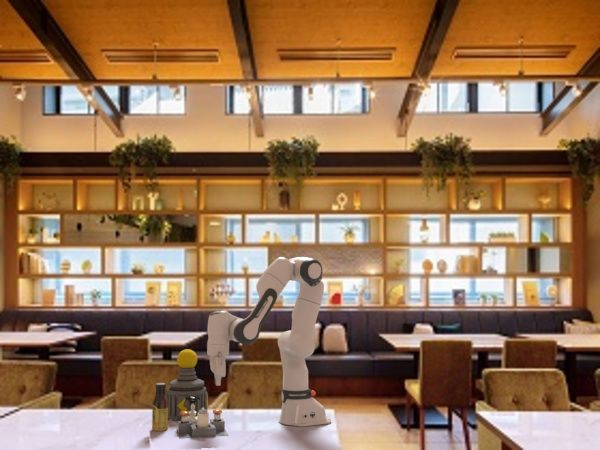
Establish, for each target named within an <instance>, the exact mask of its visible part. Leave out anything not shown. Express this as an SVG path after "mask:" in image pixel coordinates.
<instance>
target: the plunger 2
mask: <svg viewBox="0 0 600 450" xmlns="http://www.w3.org/2000/svg"><path fill="white" fill-rule="evenodd" d="M222 413H223V410H222V409H213V410H212V414H213V419H214V421H221V419H222V418H221V417H222V416H221V415H222Z"/></svg>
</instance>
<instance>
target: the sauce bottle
mask: <svg viewBox="0 0 600 450" xmlns="http://www.w3.org/2000/svg"><path fill="white" fill-rule="evenodd" d="M166 387H167V384H166V383H165V382H157V383H155V395H154V399H153V401H152V404H151V405H152V409H151V410H152V411H151V412H152V415H151V416H152V417H151V418H152V419H151V420H152V421H151V430H152V431H154V432H164V431H167V430H168V429H169V428H168V427H169V418H168V399H167V397H166V395H165V394H166Z"/></svg>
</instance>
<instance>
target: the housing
mask: <svg viewBox="0 0 600 450" xmlns="http://www.w3.org/2000/svg"><path fill="white" fill-rule="evenodd" d="M225 422H226V421H225V420H224V418H221V421H214V418H212V419H210V418H209V427H208V428H197V423H192V422H191V420H188V423H182V421H177V429H176V433H177V435H178V439H181V440H182V439H195V438H213V437H228V436H229V433H228V431H226V428H225V427H226V426H225Z"/></svg>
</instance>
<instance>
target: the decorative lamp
mask: <svg viewBox="0 0 600 450" xmlns="http://www.w3.org/2000/svg"><path fill="white" fill-rule="evenodd" d="M176 361H177V364H178V366H179V372H178V374H177V375H178V376H177V378H176V379H173V380H171V381H170V382H169V383H168V384H169V387H168V388H167V390H166V391H165V395H166V397H167V399H168V420H171V419H172V420H171V421H177V420H178V421H182V415H180V412H181V411H189V412H191V405H192V404H191V403H189V401H188V400H186V399H185V397H189V396H197V397H198V396H200V400H198V401H197V402H195V403H194V405H195V409H194V410H195V412H196V415H195V416H197V414H198V413H199V410H202V408H204V409H205V410H208V407H209V402H208V401H209V400H208V399H209V398H208V397H209V393H208V391H207V387H206V386H205V381H204V380H202V379H200V378H198V376H197V373H196V371H195V370H196V369H195V367H196V365H197V363H198V355H197V353H196V352H195V351H194V350H192V349H189V348H188V349H186V348H185V349H183V350H181V351H180V352H179V354H178V355H177V357H176ZM188 416H189V417H190V415H188ZM178 421H177V422H178Z"/></svg>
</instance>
